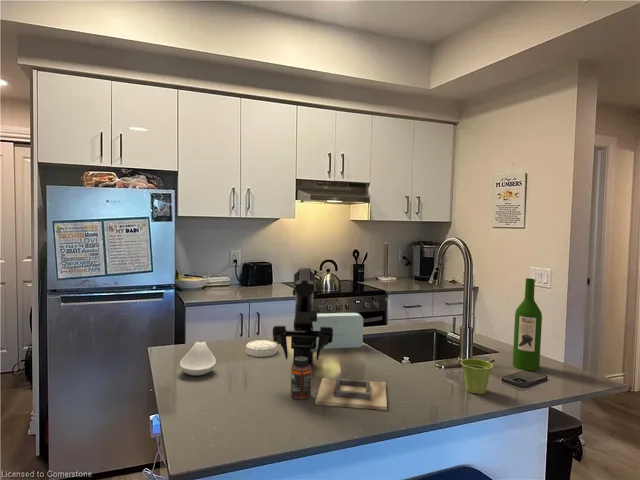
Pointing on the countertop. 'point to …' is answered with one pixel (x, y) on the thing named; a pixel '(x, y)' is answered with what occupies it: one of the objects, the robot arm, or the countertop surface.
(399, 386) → the countertop surface
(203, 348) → the spoon rest
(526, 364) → the wine bottle
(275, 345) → the mooncake
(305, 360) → the supplement bottle
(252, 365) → the countertop surface
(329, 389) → the board
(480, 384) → the plant pot
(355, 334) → the pale blue rectangular block
